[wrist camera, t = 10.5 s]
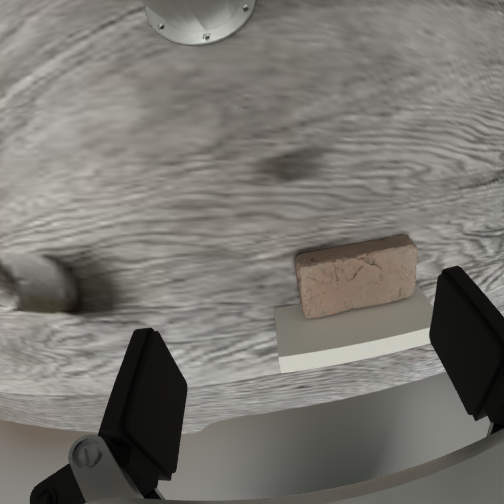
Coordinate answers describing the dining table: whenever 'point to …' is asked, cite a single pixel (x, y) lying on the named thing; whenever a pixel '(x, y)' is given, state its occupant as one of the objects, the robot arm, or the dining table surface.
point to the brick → (356, 275)
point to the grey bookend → (351, 332)
